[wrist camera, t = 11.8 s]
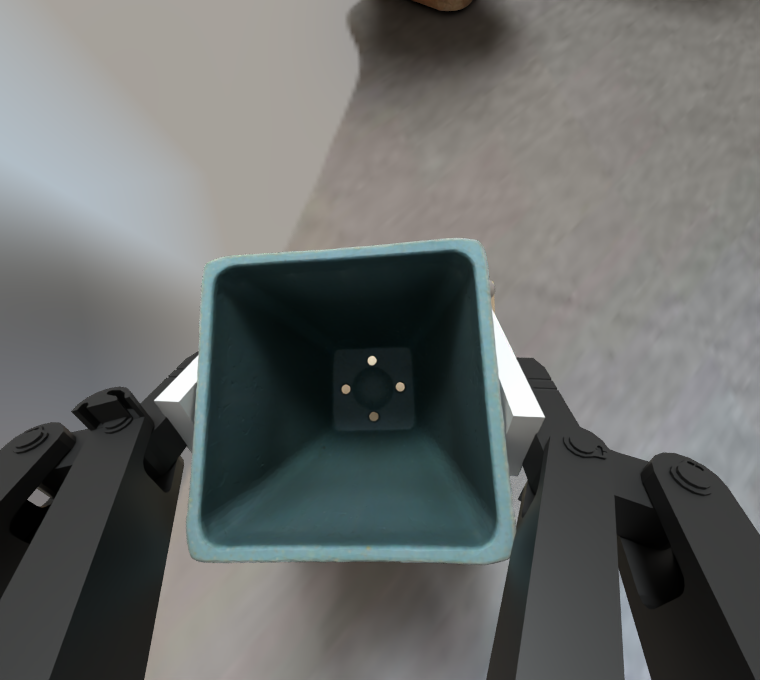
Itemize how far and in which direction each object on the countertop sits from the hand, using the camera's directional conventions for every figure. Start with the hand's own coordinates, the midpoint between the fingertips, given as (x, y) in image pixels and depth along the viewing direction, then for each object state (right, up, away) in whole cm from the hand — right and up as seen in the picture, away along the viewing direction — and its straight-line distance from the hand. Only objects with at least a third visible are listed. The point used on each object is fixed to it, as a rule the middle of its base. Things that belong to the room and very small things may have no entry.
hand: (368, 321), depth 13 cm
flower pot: (0, -4, +3) cm, 5 cm away
